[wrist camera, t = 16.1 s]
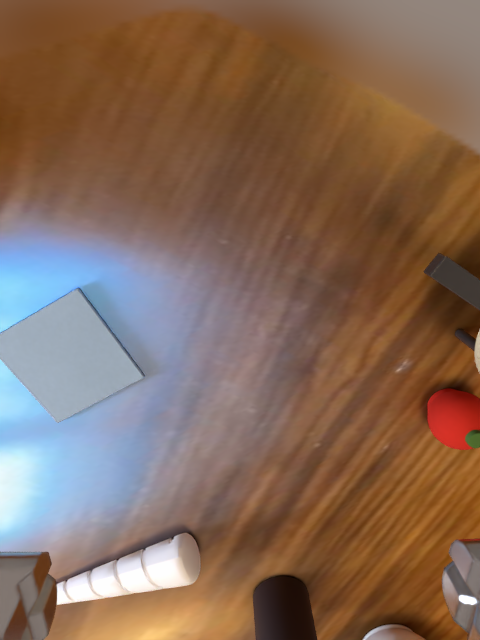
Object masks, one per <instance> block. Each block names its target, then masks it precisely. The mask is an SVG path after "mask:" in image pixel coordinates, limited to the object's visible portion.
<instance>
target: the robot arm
mask: <svg viewBox="0 0 480 640" xmlns="http://www.w3.org/2000/svg"><path fill="white" fill-rule="evenodd" d="M449 554H450V556H451V558H452V559H453V561H452V562H451V563H450V564H449V565H447V566H446V567H445V568H444V572H443V577H442V586H443V595H444V598H445V601H446V604H447V607H448V609H449V611H450V613H451V616H452V618H453V620H454V621H455V622H456V623H457V624H458V625H460V626H461V627H462V628H463V629H464V630H465V631H466V632H468V634H467V640H480V539H460V540H455V541H454V542H453V543H452V544H451V547H450V550H449ZM51 564H52V563H51V559H50V556H49V553H48V552H0V640H44V639H45V638H46V637H47V636H48V634H49V631H50V628H51V625H52V622H53V619H54V615H55V610H56V604H57V585H56V580H55V579H54V578H53V577H52V576H50V575H49V574H48V572H49V569H50V567H51Z"/></svg>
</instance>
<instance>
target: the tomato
mask: <svg viewBox="0 0 480 640" xmlns="http://www.w3.org/2000/svg"><path fill="white" fill-rule="evenodd" d="M427 410H428V415H427V419H428V425H429V427H430V430H431V432H432V433H433V435H434V436H435V437H436V438H437V439H438V440H439V441H440V442H441V443H443V444H444V445H446V446H448V447H451V448H454V449H459V450H468V449H473V448H479V447H480V399H479V398H478V397H476V396H475V395H473V394H471V393H468V392H464V391H457V390H455V389H450V388H447V389H442V390H439V391H437V392H436V393H434V394H433V395H432V396H431V398H430V399H429V401H428V404H427Z"/></svg>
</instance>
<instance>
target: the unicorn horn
mask: <svg viewBox="0 0 480 640" xmlns="http://www.w3.org/2000/svg"><path fill="white" fill-rule="evenodd" d="M200 567H201V561H200V553H199V548H198V546H197V543H196V541H195V540H194V538H193V537H192V536H191V535H189V534H188V533H182V534H179V535H177V536H175V537H174V539H173V540H172V538H169V539H167V540H164V541H162V542H159V543H157V544H154V545H152V546H149V547H147V548H146V550H144V549H142V550H139V551H137V552H134V553H132V554H129V555H127V556H124V557H122V558H120V559H119V560H118V561H117V560H114V561H111V562H109V563H106V564H104V565H101V566H99V567H96V568H94V569H93V570H92V571H91V570H89V571H87V572H84V573H82V574H79V575H77V576H75V577H72V578H70V579H68V581H67V582H66V581H63V582H61V583H58V584H56V585H57V604H56V605H58V604H66V603H73V602H78V601H88V600H95V599H102V598H106V597H115V596H121V595H127V594H133V593H140V592H146V591H153V590H159V589H163V588H172V587H179V586H186V585H190V584H193V583H194V582H195V581H196V580H197V578H198V576H199V573H200Z"/></svg>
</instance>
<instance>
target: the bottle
mask: <svg viewBox="0 0 480 640" xmlns="http://www.w3.org/2000/svg"><path fill="white" fill-rule="evenodd" d="M253 606H254V620H255V635H256V640H317V636H316V631H315V626H314V620H313V615H312V610H311V605H310V600H309V595H308V591H307V589H306V587H305V585H304V584H303V583H302V582H301V581H299V580H296V579H294V578H292V577H286V576H280V577H274V578H270V579H268V580H266V581H264V582H262V583H261V584H260V585H259V586H258V587H257V588H256V590H255V592H254V594H253Z"/></svg>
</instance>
